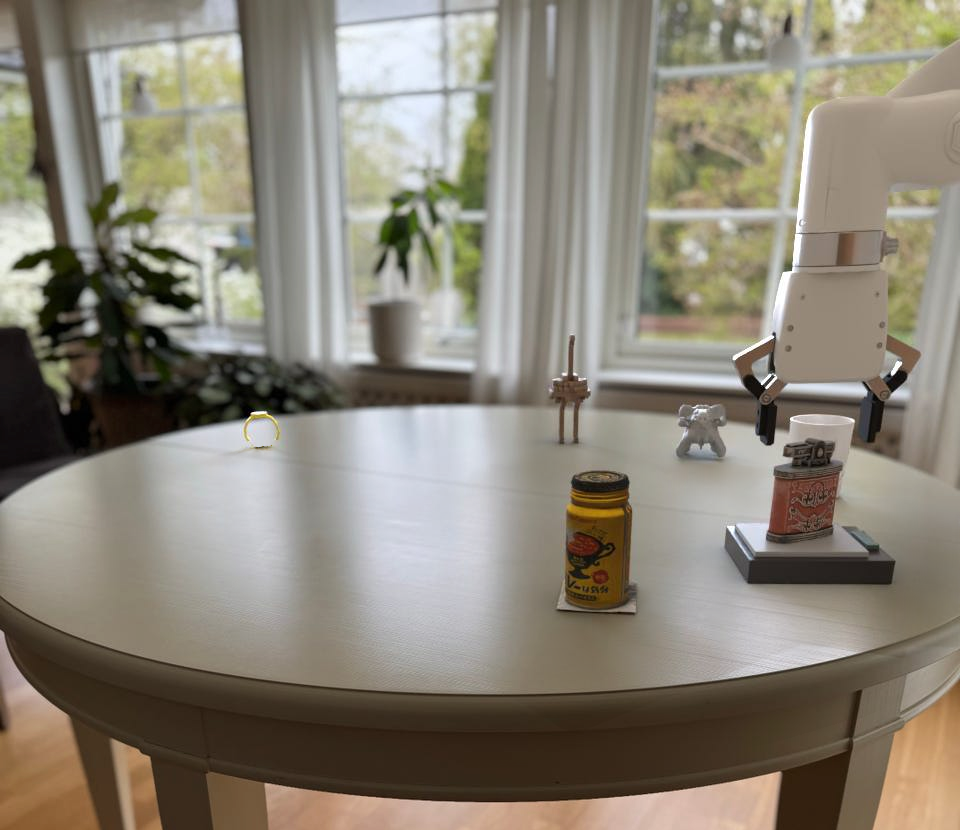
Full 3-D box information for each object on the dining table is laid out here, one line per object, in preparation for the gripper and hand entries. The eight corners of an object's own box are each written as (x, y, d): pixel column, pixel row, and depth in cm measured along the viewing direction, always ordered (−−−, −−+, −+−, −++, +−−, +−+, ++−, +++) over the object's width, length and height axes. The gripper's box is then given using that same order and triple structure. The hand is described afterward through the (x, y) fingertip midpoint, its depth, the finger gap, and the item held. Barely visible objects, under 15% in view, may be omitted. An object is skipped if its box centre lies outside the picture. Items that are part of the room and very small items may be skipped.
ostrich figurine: (589, 445, 152) (593, 335, 144) (550, 446, 152) (552, 335, 144) (578, 427, 167) (580, 327, 160) (542, 428, 167) (543, 327, 160)
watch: (281, 444, 157) (277, 410, 155) (281, 447, 155) (277, 412, 152) (246, 446, 156) (242, 412, 154) (246, 449, 154) (241, 414, 151)
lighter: (816, 527, 95) (829, 433, 91) (840, 535, 92) (855, 438, 88) (757, 537, 92) (768, 440, 88) (781, 546, 89) (793, 446, 85)
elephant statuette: (681, 462, 138) (684, 412, 135) (658, 447, 149) (661, 400, 146) (738, 460, 139) (743, 410, 136) (711, 445, 150) (715, 399, 147)
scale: (852, 546, 98) (856, 520, 97) (891, 584, 87) (896, 555, 86) (724, 546, 99) (726, 520, 98) (747, 583, 88) (750, 554, 87)
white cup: (837, 505, 114) (849, 426, 110) (775, 498, 118) (784, 422, 114) (848, 491, 120) (859, 416, 116) (788, 485, 124) (797, 412, 120)
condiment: (556, 611, 82) (558, 483, 77) (564, 580, 90) (566, 462, 85) (635, 614, 81) (643, 485, 76) (636, 583, 88) (643, 464, 84)
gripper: (918, 250, 84) (891, 432, 91) (732, 258, 85) (720, 436, 92) (952, 250, 77) (920, 447, 84) (749, 259, 78) (734, 452, 85)
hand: (815, 441), depth 88 cm, fingers open, 9 cm apart
